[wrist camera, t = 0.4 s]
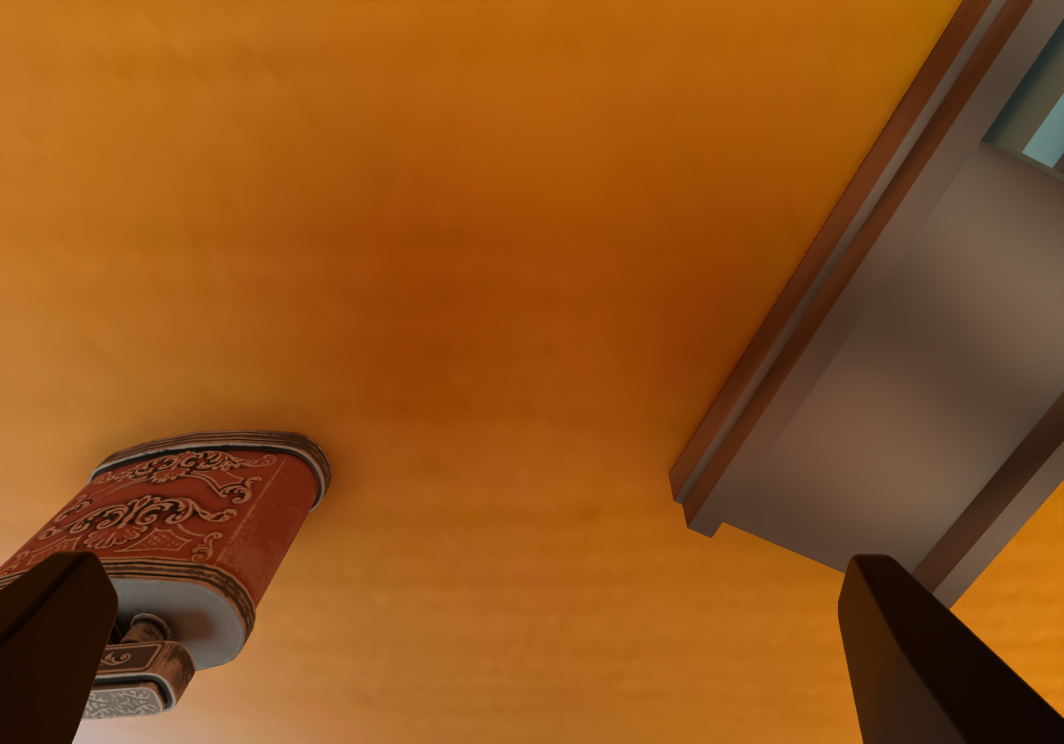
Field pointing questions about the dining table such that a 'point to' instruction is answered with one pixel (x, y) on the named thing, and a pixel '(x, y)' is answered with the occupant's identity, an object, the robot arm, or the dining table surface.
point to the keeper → (1036, 113)
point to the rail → (909, 341)
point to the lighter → (183, 552)
